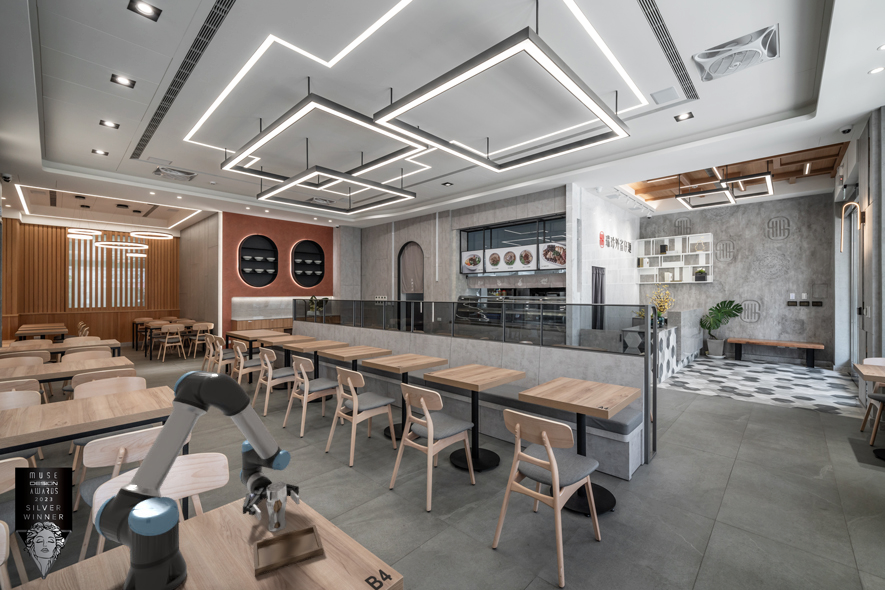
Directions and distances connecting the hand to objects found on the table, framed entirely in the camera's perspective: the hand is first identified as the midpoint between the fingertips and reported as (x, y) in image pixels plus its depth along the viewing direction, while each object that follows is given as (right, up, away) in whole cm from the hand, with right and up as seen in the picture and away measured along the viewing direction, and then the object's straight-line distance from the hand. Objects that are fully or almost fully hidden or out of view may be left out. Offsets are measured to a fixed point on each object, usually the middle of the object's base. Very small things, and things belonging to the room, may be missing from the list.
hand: (279, 508), depth 138 cm
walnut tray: (+7, -8, -11) cm, 16 cm away
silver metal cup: (-2, -8, +2) cm, 9 cm away
